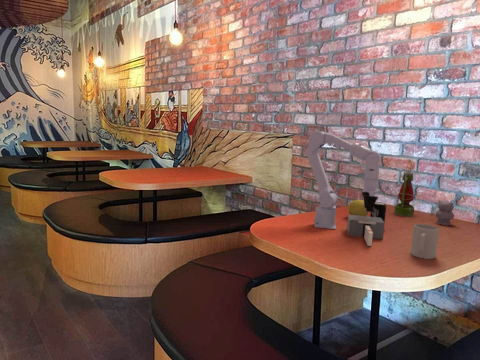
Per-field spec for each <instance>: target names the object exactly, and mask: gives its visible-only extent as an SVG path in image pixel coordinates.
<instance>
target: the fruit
mask: <svg viewBox="0 0 480 360" xmlns="http://www.w3.org/2000/svg"><path fill="white" fill-rule="evenodd" d="M347 211H348V213H349V214H348V215H357V216H368V215H369V213H370V212H367V210H366V208H365V207H364V199H355V200H352V201H350V203H349V204H348V207H347Z"/></svg>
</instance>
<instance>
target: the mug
mask: <svg viewBox="0 0 480 360" xmlns="http://www.w3.org/2000/svg"><path fill="white" fill-rule="evenodd" d="M439 233H440V228H439V227H437V226H436V225H432V224H426V223H416V224H414V225H413V231H412V240H411V247H410V255H411V256H413V257H416V258H418V259H423V258H424V260H433V258H434V259H435V258H437V249H438V241H439Z"/></svg>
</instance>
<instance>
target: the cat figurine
mask: <svg viewBox="0 0 480 360" xmlns="http://www.w3.org/2000/svg"><path fill="white" fill-rule="evenodd" d="M437 202H438V204H437V207H438V209H437V210H436V212H435V217H436V218H437V220H436V224H437V225H440V224H441V226H447V225H449V226H451V221H452V220H453V219H454V218H455V214H454V212H453V210H454V209H455V208H454V207H455V206H454V202H451V201H449V200H440V199H437Z"/></svg>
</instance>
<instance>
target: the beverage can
mask: <svg viewBox="0 0 480 360" xmlns="http://www.w3.org/2000/svg"><path fill="white" fill-rule="evenodd" d="M386 212H387V205H386V203H385V202H383V201H382V202H381V201H376V202H375V204H374V207H373V210H372V212H369V213H370V216H369V217H379V218H382V220H383V221H384V223H386Z"/></svg>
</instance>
